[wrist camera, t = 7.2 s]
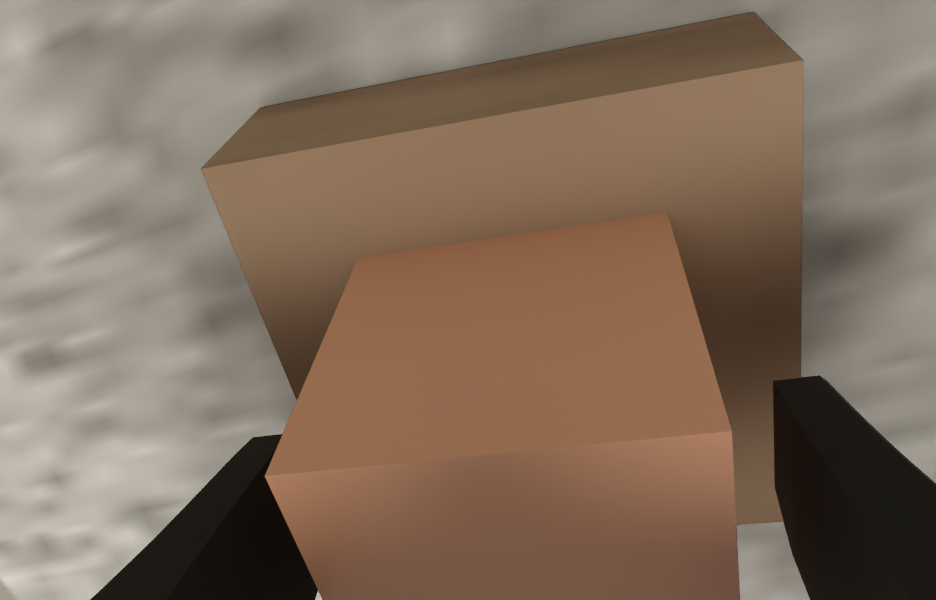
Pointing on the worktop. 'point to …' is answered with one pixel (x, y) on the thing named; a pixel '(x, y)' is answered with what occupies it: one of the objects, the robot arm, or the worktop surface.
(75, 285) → the worktop surface
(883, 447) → the robot arm
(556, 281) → the terracotta cube
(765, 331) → the walnut block
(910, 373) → the worktop surface
